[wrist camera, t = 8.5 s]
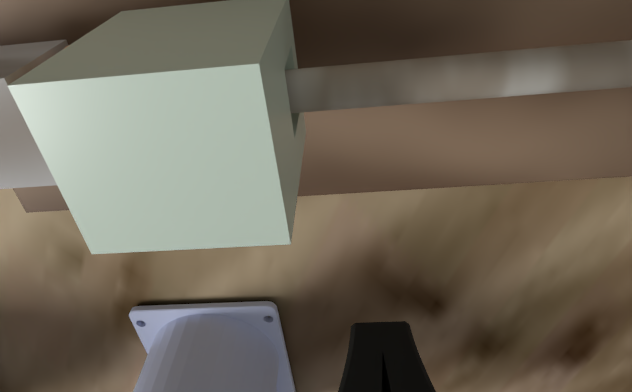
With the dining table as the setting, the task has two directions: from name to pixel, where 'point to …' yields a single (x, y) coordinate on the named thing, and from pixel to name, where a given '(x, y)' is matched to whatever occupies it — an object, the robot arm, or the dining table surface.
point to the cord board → (397, 90)
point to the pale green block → (173, 127)
